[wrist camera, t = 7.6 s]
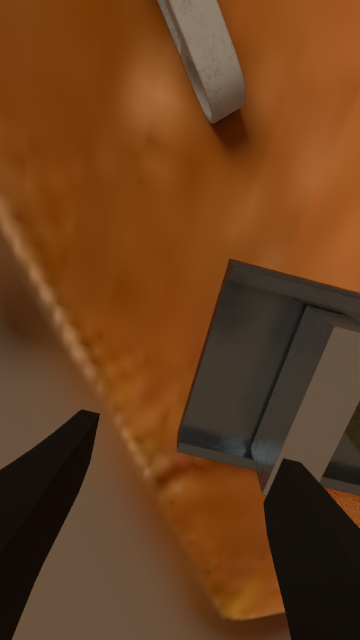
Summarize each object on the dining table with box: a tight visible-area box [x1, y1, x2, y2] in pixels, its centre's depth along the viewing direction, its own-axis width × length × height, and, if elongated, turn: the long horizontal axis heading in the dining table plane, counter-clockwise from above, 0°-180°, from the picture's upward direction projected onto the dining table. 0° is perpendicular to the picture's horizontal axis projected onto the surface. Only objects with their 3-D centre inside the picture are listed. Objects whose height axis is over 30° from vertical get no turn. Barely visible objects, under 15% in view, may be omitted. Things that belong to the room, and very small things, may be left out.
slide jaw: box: [251, 305, 360, 495], centre depth 17 cm, size 2×10×4 cm, turn 165°
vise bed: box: [177, 259, 360, 495], centre depth 18 cm, size 18×12×5 cm, turn 76°
